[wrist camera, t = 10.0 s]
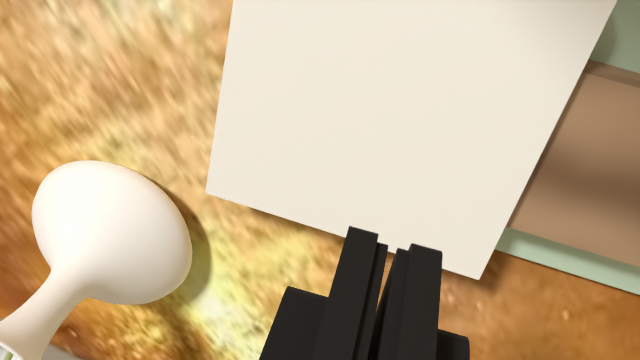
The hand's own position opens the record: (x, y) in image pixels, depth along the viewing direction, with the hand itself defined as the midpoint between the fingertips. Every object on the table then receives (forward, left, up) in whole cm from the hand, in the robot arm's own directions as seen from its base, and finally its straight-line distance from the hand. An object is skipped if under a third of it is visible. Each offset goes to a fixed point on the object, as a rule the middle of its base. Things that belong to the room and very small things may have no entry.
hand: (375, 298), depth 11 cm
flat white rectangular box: (+5, -1, -23) cm, 23 cm away
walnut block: (+5, +12, -22) cm, 25 cm away
